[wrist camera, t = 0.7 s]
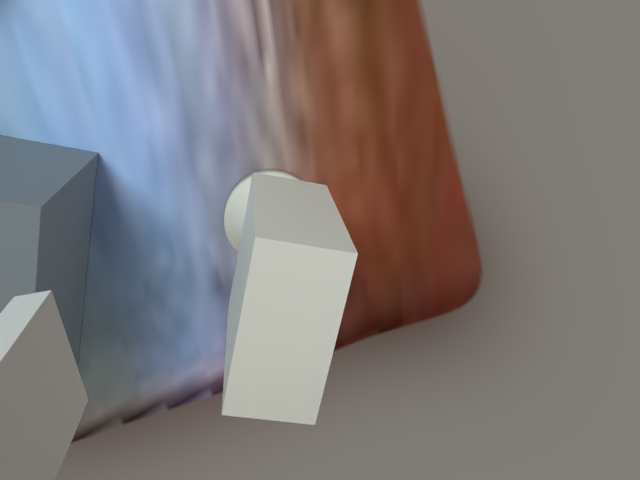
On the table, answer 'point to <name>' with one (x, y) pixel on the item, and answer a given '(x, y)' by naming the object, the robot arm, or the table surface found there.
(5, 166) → the keyhole box
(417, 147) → the table surface
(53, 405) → the robot arm
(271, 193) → the peg
